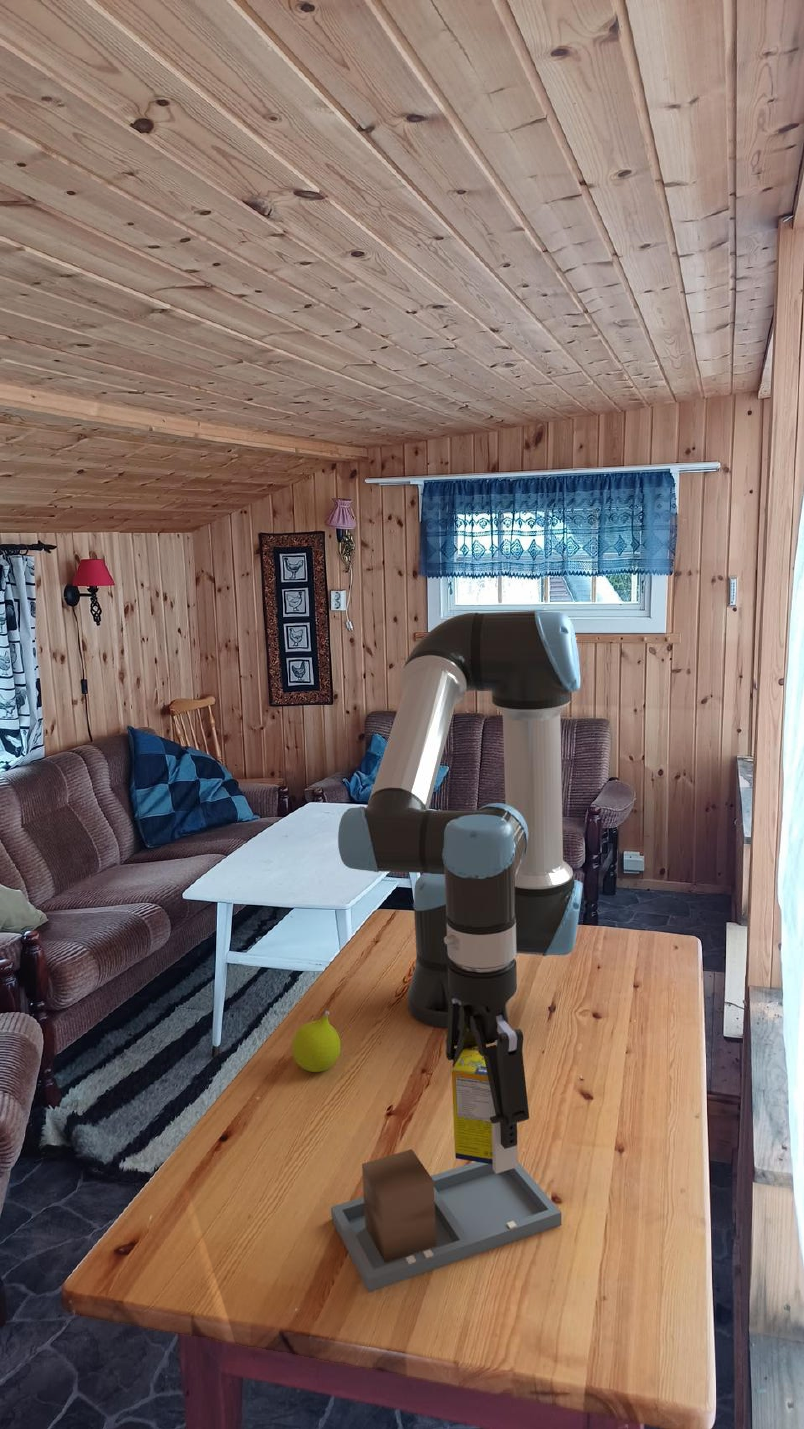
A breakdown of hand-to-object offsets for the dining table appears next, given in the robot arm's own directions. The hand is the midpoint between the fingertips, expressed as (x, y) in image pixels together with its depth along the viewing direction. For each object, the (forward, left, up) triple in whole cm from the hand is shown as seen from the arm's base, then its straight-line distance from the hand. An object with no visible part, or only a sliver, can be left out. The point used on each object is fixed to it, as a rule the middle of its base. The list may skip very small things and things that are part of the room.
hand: (486, 1145), depth 111 cm
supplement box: (0, 0, 0) cm, 0 cm away
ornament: (-38, -8, -9) cm, 40 cm away
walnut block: (0, -11, -8) cm, 13 cm away
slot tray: (0, -5, -9) cm, 10 cm away
